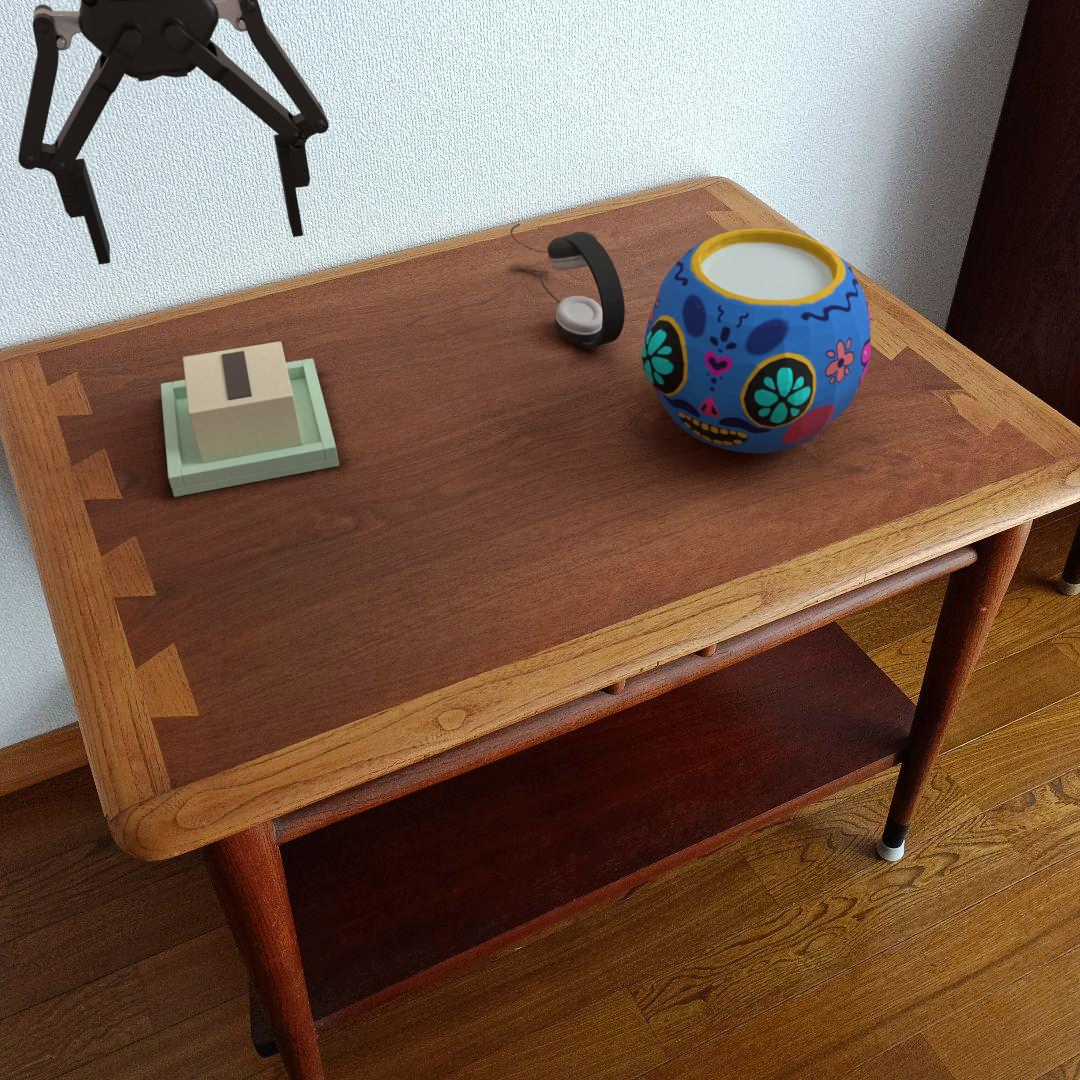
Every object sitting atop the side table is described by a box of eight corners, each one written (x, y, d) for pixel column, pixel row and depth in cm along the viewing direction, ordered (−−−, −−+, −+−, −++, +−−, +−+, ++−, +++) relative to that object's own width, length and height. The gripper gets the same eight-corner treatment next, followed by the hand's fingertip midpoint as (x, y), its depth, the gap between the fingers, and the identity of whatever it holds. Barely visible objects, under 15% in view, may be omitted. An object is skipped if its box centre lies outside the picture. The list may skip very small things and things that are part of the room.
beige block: (290, 389, 96) (280, 339, 92) (303, 445, 90) (292, 393, 86) (196, 406, 94) (182, 355, 90) (202, 463, 88) (188, 411, 85)
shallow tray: (316, 376, 98) (312, 357, 97) (339, 466, 89) (335, 446, 88) (166, 402, 96) (160, 383, 94) (174, 497, 87) (168, 477, 85)
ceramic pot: (601, 449, 91) (607, 288, 80) (692, 343, 102) (708, 189, 91) (804, 521, 84) (839, 355, 74) (878, 400, 95) (918, 241, 85)
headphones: (536, 290, 114) (639, 354, 98) (498, 302, 112) (597, 368, 97) (525, 194, 108) (632, 246, 93) (485, 205, 107) (587, 259, 91)
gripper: (325, -117, 71) (363, 195, 85) (-93, -85, 66) (23, 241, 80) (343, -87, 66) (381, 240, 80) (-109, -50, 61) (18, 293, 75)
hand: (202, 241), depth 80 cm, fingers open, 13 cm apart
